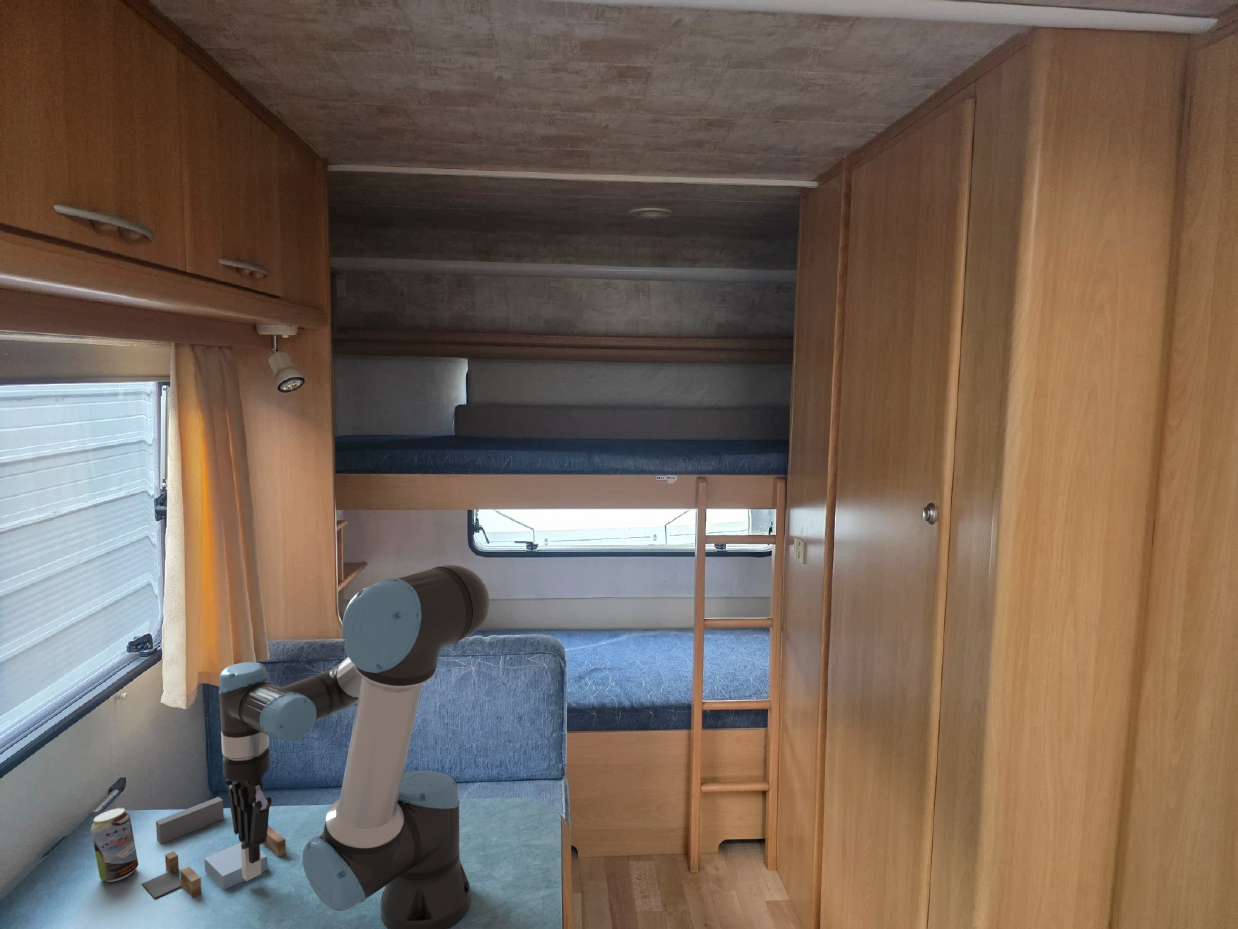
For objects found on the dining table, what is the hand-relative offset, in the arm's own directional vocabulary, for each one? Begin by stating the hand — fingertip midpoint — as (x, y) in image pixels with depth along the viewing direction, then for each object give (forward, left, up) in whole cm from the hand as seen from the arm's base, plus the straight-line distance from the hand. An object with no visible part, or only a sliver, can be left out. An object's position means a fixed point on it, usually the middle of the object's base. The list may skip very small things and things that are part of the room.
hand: (251, 875), depth 142 cm
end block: (+27, 0, -2) cm, 27 cm away
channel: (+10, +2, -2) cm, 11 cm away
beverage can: (+21, +15, -2) cm, 26 cm away
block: (+6, 0, -2) cm, 7 cm away
